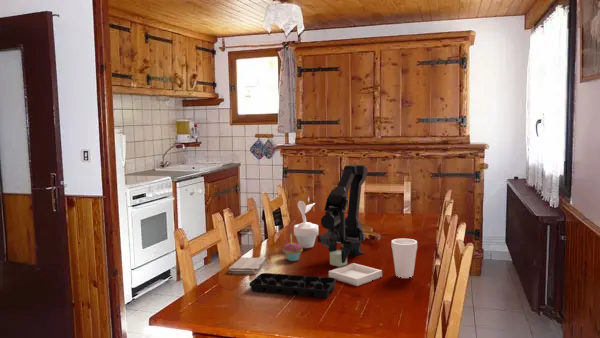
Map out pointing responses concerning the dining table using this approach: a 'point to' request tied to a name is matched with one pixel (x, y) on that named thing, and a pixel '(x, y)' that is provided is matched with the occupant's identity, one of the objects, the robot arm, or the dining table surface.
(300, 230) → the potted plant
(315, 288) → the egg carton
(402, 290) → the dining table surface
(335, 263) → the cube
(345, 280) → the tray
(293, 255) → the cupcake
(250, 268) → the washcloth
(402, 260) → the foam cup
